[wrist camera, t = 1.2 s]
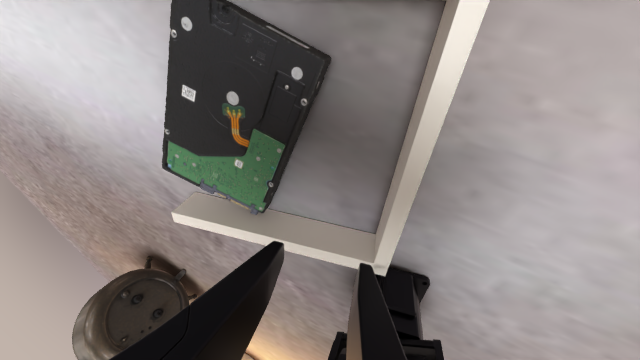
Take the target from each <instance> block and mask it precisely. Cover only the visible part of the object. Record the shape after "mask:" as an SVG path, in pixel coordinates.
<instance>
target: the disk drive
mask: <svg viewBox="0 0 640 360" xmlns="http://www.w3.org/2000/svg"><path fill="white" fill-rule="evenodd" d="M170 28H171V32H170V41H169V60H168V76H167V97H166V106H165V107H166V111H165V122H164V127H165V130H164V138H163V148H162V149H163V159H162V163H163V164H162V168H163V169H164V170H166V171H168V172H170V173H172V174H174V175H176V176H178V177H180V178H182V179H184V180H186V181H188V182H190V183H192V184H194V185H196V186H198V187H199V186H200V188H201V189H203V190H205V191H207V192H209V193H211V194H214V192H217V194H218V195H219V196H222V197H224V198H225V199H226V200H227V199H228V198H229V201H231V202H233V203H236V204H238V205H240V206H242V207H244V208H246V209H248V210H250V209H251V214H255V215H257V214H258V212H259V213H264V212H265V211H266V209H267V208H268V206H269V204H270V203H271V200H272V198H273V196H274V193H275V192H276V190H277V187H278V185H279V183H280V179H281V177H282V174H283V172H284V169H285V167H286V165H287V162H288V160H289V158H290V156H291V153H292V151H293V148H294V146H295V144H296V141H297V139H298V137H299V135H300V132H301V130H302V127H303V125H304V122H305V120H306V118H307V115H308V113H309V111H310V108H311V106H312V104H313V101H314V99H315V97H316V95H317V93H318V91H319V89H320V87H321V84H322V82H323V80H324V75H325V73H326V71H327V68H328V65H329V64H330V61H331V57H330V56H329V55H327V54H325V53H323V52H321V51H319V50H317V49H316V48H314V47H312V46H310V45H308V44H306V43H305V42H303V41H301V40H299V39H297V38H296V37H293V36H291V35H290V34H288V33H286V32H284V31H283V30H281V29H279V28H277V27H275V26H274V25H271V24H270V23H267V22H266V21H264V20H262V19H260V18H258V17H257V16H255V15H253V14H251V13H249V12H247V11H245V10H244V9H242V8H240V7H238V6H236V5H234V4H233V3H231V2H229V1H227V0H172V3H171V17H170Z"/></svg>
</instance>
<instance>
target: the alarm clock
mask: <svg viewBox="0 0 640 360" xmlns="http://www.w3.org/2000/svg"><path fill="white" fill-rule="evenodd" d="M151 260H152V257H151V256H148V257H147V262H146V264H145V268H144V269H138V270H134V271H130V272H128V273H125V274H123V275H121V276H119V277H117V278H116V279H114V280H112V281H111V282H110V283H108V284H107V285H106V286H104V287H103V288H102V289H101V290H99V291H98V292H97V293H96V294H94V295H93V296H92V297H91V298H90V299H89V301H88V302H87V303H86V304H85V305H84V307H83V308H82V310H81V311H80V313H79V315H78V317H77V319H76V322H75V325H74V329H73V334H72V344H73V350H74V353H75V355H76V357H77V359H78V360H109V359H110V358H112V357H113V356H115V355H116V354H118V353H120V352H121V351H123V350H124V349H126V348H127V347H129V346H130V345H132V344H134V343H135V342H137V341H138V340H140V339H141V338H143V337H144V336H146V335H147V334H149V333H150V332H152V331H153V330H155V329H156V328H158V327H159V326H161V325H162V324H163V323H165V322H166V321H168V320H169V319H170V318H172V317H173V316H174V315H176V314H177V313H179V312H180V311H181V310H182V309H184V308H185V307H186V306H188V305H189V300H190V299H192V298H194V299H195V298H196V297H197V294H193V295H191V296H188V295H187V292H186V290H185V288H184V286H183V285H182V283H181V282H180V281H179V280H180V279H181V278H182V277H183V276H184V275H185V273H186V271H185V270H182V271H180V272H179V273H178V274H177V275H176V276H175V277H174V276H173V275H171V274H170V273H168V272H165V271H162V270H158V269H151V263H150V261H151Z"/></svg>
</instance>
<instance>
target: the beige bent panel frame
mask: <svg viewBox="0 0 640 360" xmlns="http://www.w3.org/2000/svg"><path fill="white" fill-rule="evenodd" d="M444 1H446V4H445V8H444V11H443V14H442V17H441V21H440V24H439V27H438V31H437V34H436V37H435V40H434V44H433V47H432V50H431V54H430V57H429V60H428V64H427V67H426V70H425V73H424V77H423V80H422V83H421V87H420V90H419V93H418V97H417V100H416V103H415V106H414V110H413V113H412V116H411V120H410V123H409V126H408V130H407V133H406V136H405V139H404V143H403V146H402V149H401V153H400V156H399V159H398V163H397V166H396V169H395V172H394V176H393V179H392V182H391V186H390V189H389V192H388V196H387V199H386V202H385V205H384V209H383V212H382V215H381V219H380V222H379V225H378V229H377V232H376V234H372V233H368V232H364V231H359V230H355V229H351V228H347V227H342V226H338V225H334V224H330V223H325V222H321V221H317V220H313V219H308V218H304V217H300V216H296V215H291V214H287V213H283V212H279V211H274V210H270V209H266V211H265V212H264V213H259V212H258V214H257V215H255V214H251V209H250V210H248V209H246V208H244V207H242V206H240V205H238V204H236V203H233V202H231V201H229V200H228V199H227V200H226V199H224V198H219V197H215V196H211V195H207V194H202V193H198V192H195V193H194V194H193V195H191V196H190V197H189V198H188V199H187V200H185V201H184V202H183V203H182V204H181V205H179V206H178V207H177V208H176V209H175V210H173V211H172V212H171V213H172V216H173V220H174V222H177V223H181V224H185V225H188V226H192V227H196V228H200V229H204V230H208V231H212V232H215V233H219V234H223V235H227V236H231V237H235V238H239V239H243V240H246V241H250V242H254V243H258V244H262V245H266V246H267V245H268V244H269V243H271V242H272V241H278V242H282V243H284V250H285V251H289V252H293V253H297V254H300V255H304V256H308V257H312V258H316V259H320V260H324V261H328V262H331V263H335V264H339V265H343V266H347V267H351V268H355V269H358V268H359V264H360V263H365V264H369V265H371V266H372V268H373V270H374V273H375V274H378V275H382V276H385V275H386V273H387V270H388V267H389V265H390V262H391V259H392V257H393V254H394V252H395V249H396V246H397V244H398V241H399V238H400V236H401V233H402V230H403V228H404V225H405V222H406V220H407V217H408V215H409V212H410V209H411V207H412V204H413V201H414V199H415V196H416V193H417V191H418V188H419V186H420V183H421V180H422V178H423V175H424V172H425V170H426V167H427V164H428V162H429V159H430V157H431V154H432V151H433V149H434V146H435V143H436V141H437V138H438V135H439V133H440V130H441V128H442V125H443V122H444V120H445V117H446V114H447V112H448V109H449V106H450V104H451V101H452V98H453V96H454V93H455V91H456V88H457V85H458V83H459V80H460V77H461V75H462V72H463V69H464V67H465V64H466V62H467V59H468V56H469V54H470V51H471V48H472V46H473V43H474V40H475V38H476V35H477V33H478V30H479V27H480V25H481V22H482V19H483V17H484V14H485V11H486V9H487V6H488V4H489V1H490V0H444Z"/></svg>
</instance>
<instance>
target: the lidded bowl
mask: <svg viewBox="0 0 640 360" xmlns="http://www.w3.org/2000/svg"><path fill="white" fill-rule="evenodd" d="M241 360H254V359H253V358H252V357H251V356H249V355H247V354H245V353H244V355H243V357H242V359H241Z"/></svg>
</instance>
